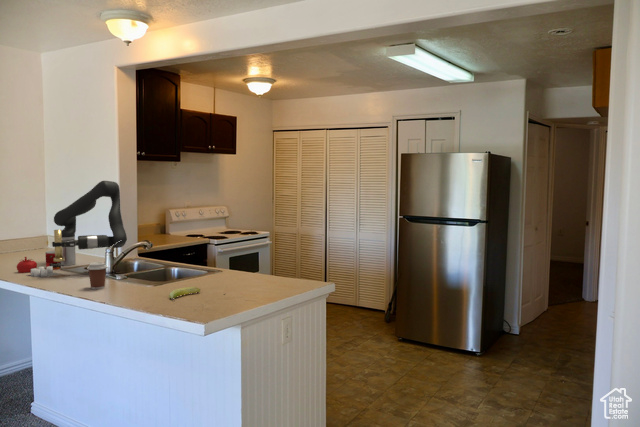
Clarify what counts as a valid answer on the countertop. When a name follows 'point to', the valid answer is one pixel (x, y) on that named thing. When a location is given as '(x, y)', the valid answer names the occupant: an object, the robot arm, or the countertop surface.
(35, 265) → the red tomato
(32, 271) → the mat
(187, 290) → the green caterpillar
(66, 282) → the countertop surface
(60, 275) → the walnut pad
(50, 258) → the canned food
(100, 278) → the coffee cup
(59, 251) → the gold tall tapered cylinder
